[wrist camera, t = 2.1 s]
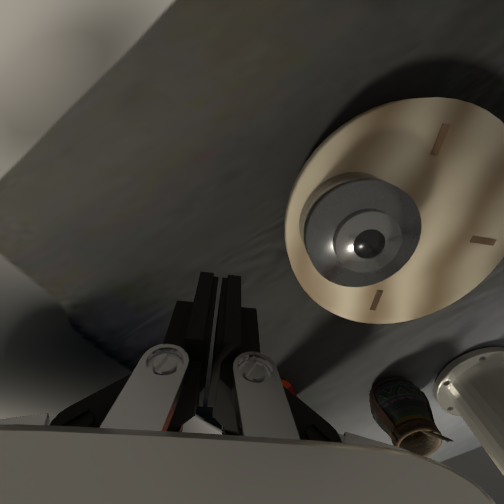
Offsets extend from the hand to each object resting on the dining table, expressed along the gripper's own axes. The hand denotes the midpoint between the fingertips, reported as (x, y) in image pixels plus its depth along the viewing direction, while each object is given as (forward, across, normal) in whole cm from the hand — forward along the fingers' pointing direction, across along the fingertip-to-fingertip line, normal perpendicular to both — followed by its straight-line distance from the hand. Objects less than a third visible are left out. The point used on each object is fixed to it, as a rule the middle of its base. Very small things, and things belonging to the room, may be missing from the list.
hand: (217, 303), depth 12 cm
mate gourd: (+18, -26, +24) cm, 40 cm away
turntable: (+17, -17, 0) cm, 24 cm away
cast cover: (+15, -11, 0) cm, 19 cm away
